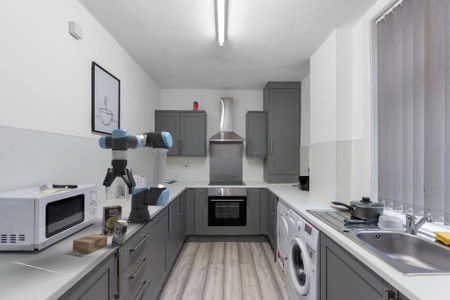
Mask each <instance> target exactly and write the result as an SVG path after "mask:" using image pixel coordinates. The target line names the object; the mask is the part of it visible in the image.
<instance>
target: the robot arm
mask: <svg viewBox="0 0 450 300" xmlns="http://www.w3.org/2000/svg"><path fill="white" fill-rule="evenodd" d="M98 146H99V148H101V149H103V150H108V149H109V150H111V162H110V163H111V165H110V167H108V168H107V170H106V174H105V176H104V179H103V181H102V186H105V200H112V198H113V197H112V193H113V192H112V191H113V190H112V189H113V187H112V184H113V183H114V181H115V180H116V178H121V179H122V180H123V182H124V183H125V185H126V194H125V195H126V199H125V200H126V202H130V212H129V213H128V214H129V215H128V219H127V222H128V221H130V222H129V223H131V222H141V223H146V222H149V221H151V214H150V210H149V207H164V206H166V205H167V203H168V202H169V199H170V191H169V189H168V188H167V186H166V184H165V183H166V171H167V170H166V169H167V157H168V154H167V153H168V152H169V151H170V148H172V147H173V138H172V134H171V133H170V132H168V131H148V132H141V133H137V134H136V135H135V134H133V135H132V134H131V135H129V131H128V130H127V129H122V128H121V129H120V128H117V129H115V128H114V129H113V130H112V132H111V135H101V136H100V137H99V138H98ZM141 147H142V148H150V149H151V148H152V150H153V152H154V157H153V171H152V174H153V175H152V184H151V185H150V187H148V186H145V187H144V186H143V187H136V186H137V184H136V181H135V177H134V175H133V172H132V168H130V167H129V168H127V166H128V150H129V149H131V150H137V149H139V148H141ZM135 187H136V188H135Z"/></svg>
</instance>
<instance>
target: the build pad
mask: <svg viewBox="0 0 450 300" xmlns="http://www.w3.org/2000/svg"><path fill="white" fill-rule="evenodd" d="M113 246H114V245H113V244H109V243H107V246H106V247H104V248H102V249H99V250H97V251H95V252H93V253H90V254H84V253H79V252H74V251H73V249H71V250H67V251H66V252H65V254H70V255H71V254H72V255H76V256H80V257H87V258H89V257H91V256H93V255H96V254H97V253H100V252H102V251H105V250H106V249H108V248H111V247H113Z"/></svg>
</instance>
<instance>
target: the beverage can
mask: <svg viewBox="0 0 450 300" xmlns="http://www.w3.org/2000/svg"><path fill="white" fill-rule="evenodd" d="M128 223H129V222H128V220H126V219H125V220H124V219H121V220H118V221H117V222H116V223H115V228H114V233H113V235H112V237H111V238H112V240H111V245H113V246H120V245H124V244H125V241H126V238H127V237H126V236H127V230H128V227H129V226H128V225H129V224H128Z"/></svg>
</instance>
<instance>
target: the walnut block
mask: <svg viewBox="0 0 450 300" xmlns="http://www.w3.org/2000/svg"><path fill="white" fill-rule="evenodd" d="M107 244H108V236H104V235H102V234H96V233H91V234H88V235H85V236H82V237H79V238H77V239H73V240H72V250H73V251H74V252H79V253H84V254H90V253H93V252H95V251H97V250H99V249H102V248H104V247H106V246H107Z"/></svg>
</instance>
